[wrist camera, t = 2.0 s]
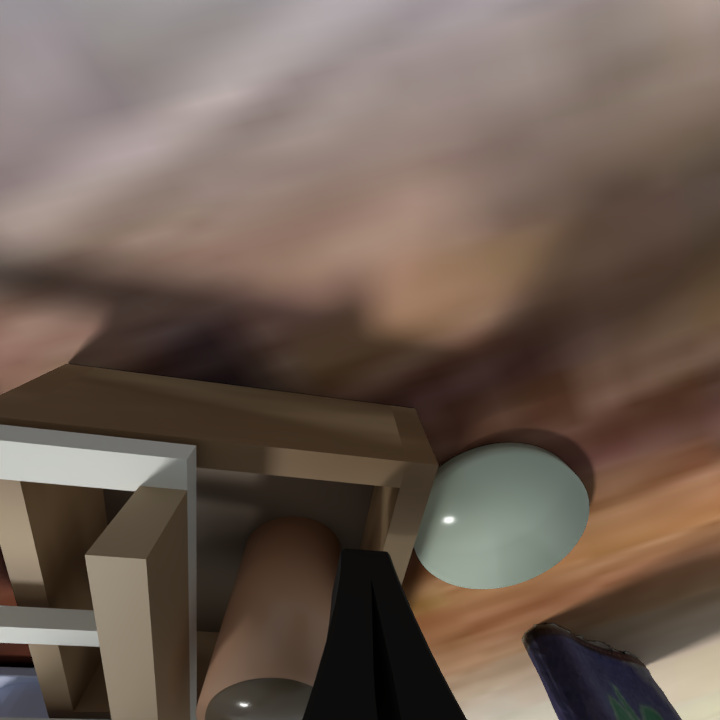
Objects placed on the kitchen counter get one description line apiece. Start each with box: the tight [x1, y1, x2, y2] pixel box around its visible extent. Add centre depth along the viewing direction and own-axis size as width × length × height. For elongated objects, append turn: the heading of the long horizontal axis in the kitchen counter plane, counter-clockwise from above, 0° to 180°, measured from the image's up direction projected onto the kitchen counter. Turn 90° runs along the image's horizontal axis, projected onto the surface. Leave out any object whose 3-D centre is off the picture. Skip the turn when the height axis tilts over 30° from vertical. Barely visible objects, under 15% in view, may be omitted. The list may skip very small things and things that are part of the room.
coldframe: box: [0, 364, 439, 720], centre depth 14 cm, size 15×13×4 cm
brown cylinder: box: [196, 517, 341, 720], centre depth 13 cm, size 4×4×6 cm
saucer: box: [414, 442, 589, 589], centre depth 15 cm, size 8×8×1 cm
